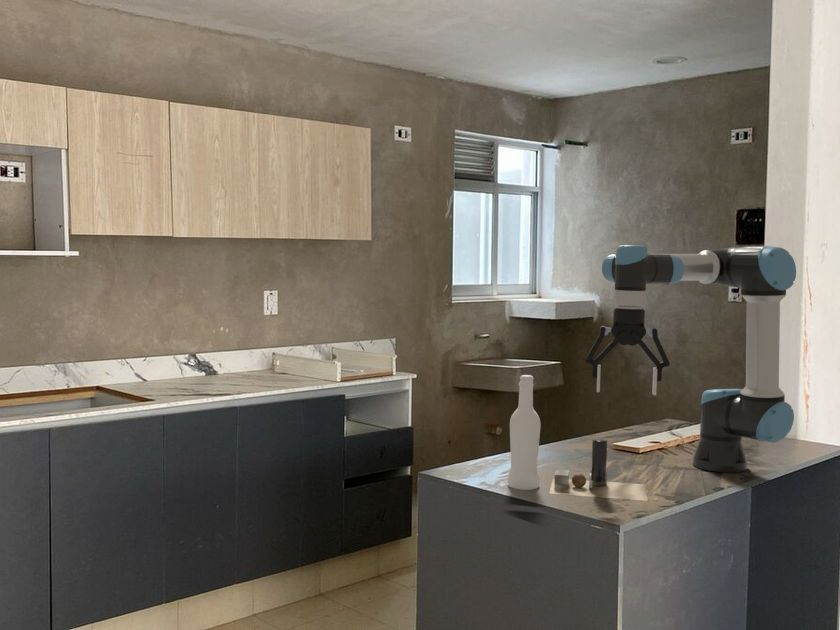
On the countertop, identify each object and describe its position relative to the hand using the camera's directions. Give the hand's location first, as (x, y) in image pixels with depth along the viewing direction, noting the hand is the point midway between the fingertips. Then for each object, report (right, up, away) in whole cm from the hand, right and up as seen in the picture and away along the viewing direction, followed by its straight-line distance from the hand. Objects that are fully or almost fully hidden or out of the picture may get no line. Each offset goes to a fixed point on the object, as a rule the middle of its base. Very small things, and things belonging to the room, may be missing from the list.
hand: (625, 393), depth 212 cm
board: (-5, -27, +7) cm, 28 cm away
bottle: (-24, -26, +9) cm, 37 cm away
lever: (-6, -25, +7) cm, 27 cm away
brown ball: (-10, -25, +8) cm, 28 cm away
